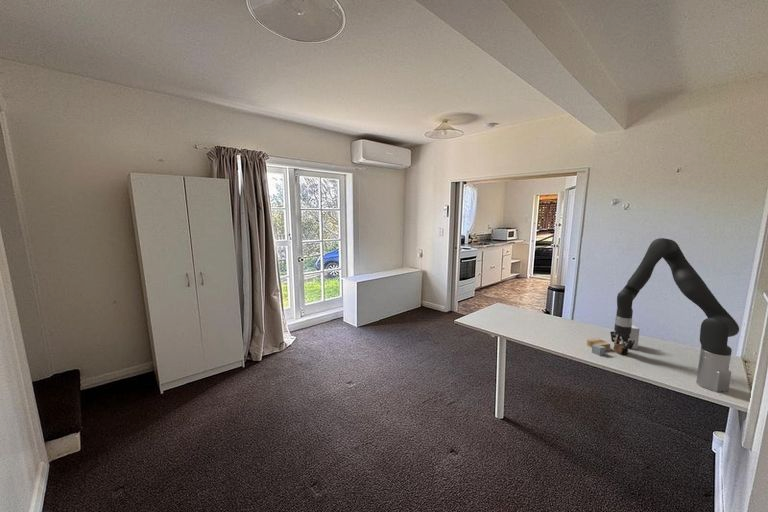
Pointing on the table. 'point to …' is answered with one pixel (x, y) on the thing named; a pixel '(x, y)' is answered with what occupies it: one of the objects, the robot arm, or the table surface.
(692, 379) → the table surface
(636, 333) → the supplement box
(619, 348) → the walnut cube
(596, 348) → the grey painted cube
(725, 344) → the robot arm
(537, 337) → the table surface
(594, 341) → the oak base block
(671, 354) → the table surface
